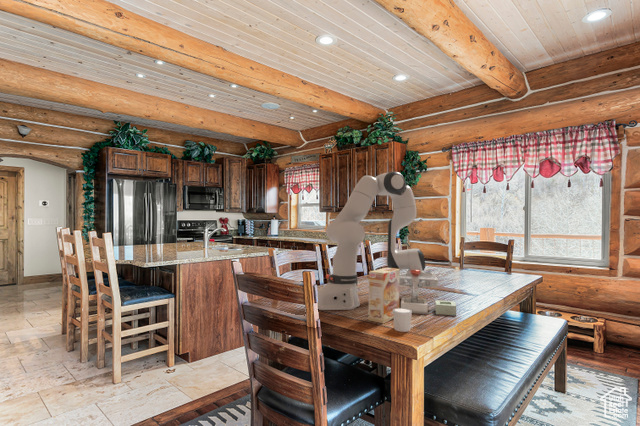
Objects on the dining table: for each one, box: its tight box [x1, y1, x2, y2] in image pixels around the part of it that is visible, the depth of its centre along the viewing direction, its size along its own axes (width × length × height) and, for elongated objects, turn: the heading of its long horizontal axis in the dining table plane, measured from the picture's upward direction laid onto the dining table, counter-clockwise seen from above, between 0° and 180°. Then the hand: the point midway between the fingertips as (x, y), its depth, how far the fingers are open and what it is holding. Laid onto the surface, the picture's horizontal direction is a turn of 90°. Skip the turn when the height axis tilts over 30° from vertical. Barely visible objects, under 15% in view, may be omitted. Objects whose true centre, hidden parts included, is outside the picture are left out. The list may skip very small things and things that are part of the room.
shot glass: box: [393, 307, 413, 333], centre depth 130 cm, size 7×7×7 cm
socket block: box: [434, 299, 457, 316], centre depth 153 cm, size 8×8×4 cm
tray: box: [400, 296, 428, 315], centre depth 156 cm, size 11×11×4 cm
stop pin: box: [410, 270, 421, 303], centre depth 157 cm, size 4×4×16 cm
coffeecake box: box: [368, 267, 401, 324], centre depth 144 cm, size 15×7×20 cm, turn 143°
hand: (414, 284), depth 156 cm, fingers open, 4 cm apart
